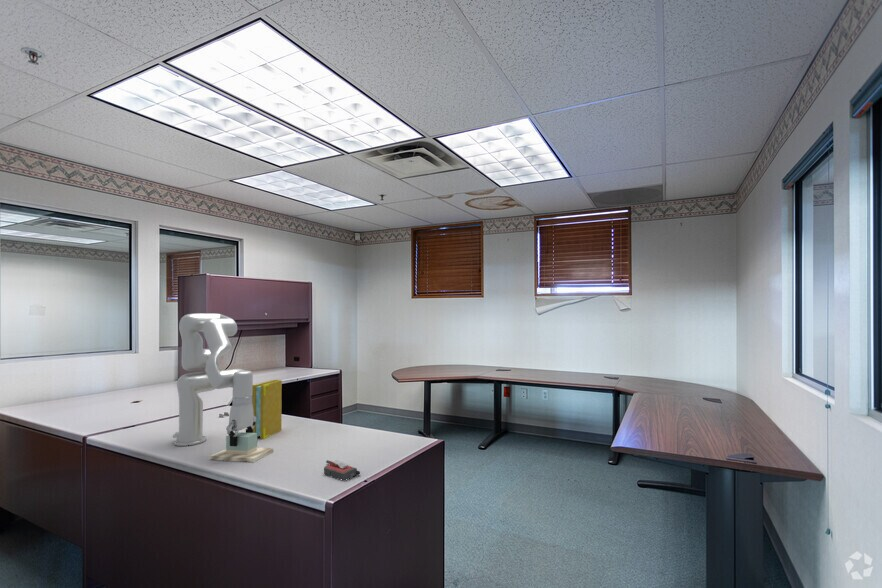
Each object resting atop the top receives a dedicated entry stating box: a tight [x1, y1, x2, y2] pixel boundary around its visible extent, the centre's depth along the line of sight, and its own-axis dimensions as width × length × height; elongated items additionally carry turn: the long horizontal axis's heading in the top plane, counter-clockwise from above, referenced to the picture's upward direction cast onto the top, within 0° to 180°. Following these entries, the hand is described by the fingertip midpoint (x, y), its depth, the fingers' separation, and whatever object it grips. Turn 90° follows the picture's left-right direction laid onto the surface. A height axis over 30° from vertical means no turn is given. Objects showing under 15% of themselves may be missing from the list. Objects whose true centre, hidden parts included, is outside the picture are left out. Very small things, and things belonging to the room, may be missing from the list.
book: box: [252, 379, 283, 440], centre depth 205 cm, size 17×7×25 cm, turn 168°
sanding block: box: [225, 431, 258, 455], centre depth 172 cm, size 10×6×7 cm, turn 78°
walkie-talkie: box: [323, 459, 361, 481], centre depth 152 cm, size 9×4×20 cm
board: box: [209, 446, 274, 463], centre depth 172 cm, size 20×13×2 cm, turn 78°
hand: (241, 442), depth 172 cm, fingers open, 9 cm apart
